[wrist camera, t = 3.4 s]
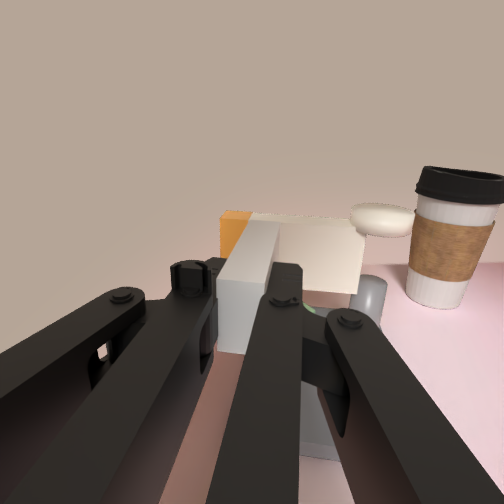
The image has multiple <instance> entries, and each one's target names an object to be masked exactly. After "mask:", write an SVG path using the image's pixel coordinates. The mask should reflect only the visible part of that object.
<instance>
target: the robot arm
mask: <svg viewBox="0 0 504 504" xmlns="http://www.w3.org/2000/svg"><path fill="white" fill-rule="evenodd" d="M280 223H281V222H276V221H262V220H250V221H249V222H248V224H247V226H246V228H245V229H244V231H243V233H242V235H241V236H240V238H239V240H238V242H237V243H236V245H235V247H234V249H233V250H232V252H231V254H230V256H229V257H228V258H217V257H212V258H210V259H208V260H207V261H205V262H204V261H199V260H186V261H180V262H177V263H175V264H173V265H172V266H170V271H171V286H172V290H171V292H170V293H169V294H168V295H167V297H166V298H165V299H160V300H146V301H145V294H144V292H143V291H142V290H140V289H138V288H133V287H120V288H117V289H113V290H110V291H108V292H106V293H104V294H102V295H101V296H99V297H97V298H95V299H94V300H92V301H90V302H89V303H87V304H85V305H83V306H82V307H80V308H78V309H76V310H75V311H73V312H71V313H70V314H68V315H66V316H64V317H63V318H61V319H59V320H58V321H56V322H54V323H52V324H51V325H49V326H47V327H46V328H44V329H42V330H40V331H39V332H37V333H35V334H33V335H32V336H30V337H28V338H27V339H25V340H23V341H21V342H20V343H18V344H16V345H14V346H13V347H11V348H9V349H8V350H6V351H4V352H2V353H1V354H0V504H158V503H159V501H160V498H161V495H162V493H163V490H164V488H165V485H166V482H167V480H168V477H169V475H170V472H171V469H172V467H173V464H174V462H175V459H176V456H177V454H178V451H179V449H180V446H181V443H182V441H183V438H184V436H185V433H186V430H187V428H188V425H189V423H190V420H191V417H192V415H193V412H194V410H195V407H196V404H197V402H198V399H199V397H200V394H201V391H202V389H203V386H204V384H205V381H206V378H207V376H208V373H209V371H210V368H211V365H212V363H213V357H214V354H213V347H214V345H215V342H216V340H217V351H220V352H228V353H236V354H244V355H245V357H244V361H243V365H242V369H241V372H240V376H239V380H238V384H237V387H236V391H235V395H234V399H233V402H232V406H231V410H230V414H229V417H228V421H227V425H226V429H225V432H224V436H223V440H222V443H221V447H220V451H219V455H218V458H217V462H216V466H215V470H214V473H213V477H212V481H211V485H210V488H209V492H208V496H207V500H206V503H205V504H298V490H299V450H300V411H301V381H303V382H306V383H308V384H311V385H313V386H316V387H317V395H318V398H319V401H320V403H321V406H322V409H323V412H324V415H325V418H326V421H327V424H328V427H329V430H330V432H331V435H332V438H333V441H334V444H335V447H336V450H337V453H338V456H339V459H340V461H341V464H342V467H343V470H344V473H345V476H346V479H347V482H348V485H349V488H350V490H351V493H352V496H353V499H354V502H355V504H504V495H503V493H502V492H501V491H500V489H499V488H498V487H497V485H496V484H495V483H494V481H493V480H492V479H491V477H490V476H489V475H488V473H487V472H486V471H485V469H484V468H483V467H482V465H481V464H480V463H479V461H478V460H477V459H476V457H475V456H474V455H473V453H472V452H471V451H470V449H469V448H468V447H467V445H466V444H465V443H464V441H463V440H462V439H461V437H460V436H459V435H458V433H457V432H456V431H455V429H454V428H453V426H452V425H451V424H450V422H449V421H448V420H447V418H446V417H445V416H444V414H443V413H442V412H441V410H440V409H439V408H438V406H437V405H436V404H435V402H434V401H433V400H432V398H431V397H430V396H429V394H428V393H427V392H426V390H425V389H424V388H423V386H422V385H421V384H420V382H419V381H418V380H417V378H416V377H415V376H414V374H413V373H412V372H411V370H410V369H409V368H408V366H407V365H406V364H405V362H404V361H403V359H402V358H401V357H400V355H399V354H398V353H397V351H396V350H395V349H394V347H393V346H392V345H391V343H390V342H389V341H388V339H387V338H386V337H385V335H384V334H383V333H382V331H381V330H380V329H379V327H378V326H377V325H376V323H375V322H374V321H373V320H372V319H371V318H370V317H369V316H368V315H366V314H364V313H362V312H360V311H358V310H354V309H350V308H348V309H347V308H340V309H334V310H332V311H330V312H329V313H328V314H327V316H326V317H323V316H319V315H317V314H314V313H312V312H310V311H309V310H308V309H306V308H305V306H304V305H303V301H302V287H303V269H302V268H301V267H300V266H299V264H295V263H284V262H278V254H279V239H280ZM105 343H106V348H107V355H106V356H105V357H103V358H101V359H99V357H98V351H97V349H98V348H99V347H101V346H102V345H103V344H105Z"/></svg>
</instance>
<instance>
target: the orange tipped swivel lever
mask: <svg viewBox="0 0 504 504" xmlns="http://www.w3.org/2000/svg"><path fill="white" fill-rule="evenodd" d="M414 218H415V213H414V212H413V211H411V210H409V209H406V208H403V207H399V206H395V205H389V204H378V203H363V204H357V205H354V206H353V207H352V211H351V218H350V219H345V218H328V217H312V216H295V215H279V214H261V213H253V212H243V211H226V212H225V213H224V214H223V215H222V216H221V218H220V255H221V258H228V257H229V256H230V254H231V252H232V250H233V249H234V247H235V245H236V243H237V242H238V240H239V238H240V236H241V235H242V233H243V231H244V229H245V228H246V226H247V224H248V222H249V221H250V220H262V221H276V222H281V223H280V239H279V254H278V262H284V263H295V264H299V266H300V267H301V268H302V269H303V287H302V289H303V290H314V291H325V292H336V293H347V294H351V297H350V304H349V308H350V309H354V310H358V311H360V312H362V313H364V314H366V315H368V316H369V317H370V318H371V319H372V320H373V321H374V322H375V323H376V325H377V326H378V327H379V326H380V321H381V316H382V310H383V305H384V300H385V295H386V290H387V282H386V281H385V280H383V279H382V278H379V277H377V276H373V275H360V272H361V266H362V259H363V252H364V247H365V240H366V234H368V235H374V236H380V237H404V236H407V235H409V234H411V232H412V227H413V222H414Z"/></svg>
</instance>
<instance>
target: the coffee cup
mask: <svg viewBox="0 0 504 504" xmlns="http://www.w3.org/2000/svg"><path fill="white" fill-rule="evenodd" d="M416 187H417V188H416V190H415V192H416V193H418V202H417V209H415V211H414V213H415V218H414V222H413V227H412V237H411V246H410V255H409V268H408V275H407V282H406V294H407V296H408V297H409V298H411V299H412V300H413V301H415V302H417V303H419V304H422V305H424V306H427V307H431V308H436V309H454V308H456V307H458V306H459V305H460V302H461V300H462V298H463V295H464V293H465V290H466V288H467V285H468V283H469V280H470V278H471V277H472V274H473V272H474V270H475V268H476V265H477V263H478V261H479V258H480V256H481V254H482V252H483V249H484V247H485V245H486V243H487V240H488V238H489V236H490V234H491V231H492V229H493V227H494V224H495V221H494V218H495V216H496V213H497V211H498V208H499V206H500V204H502V203H504V176H502V175H497V174H492V173H486V172H478V171H468V170H459V169H449V168H441V167H433V166H424V168H423V170H422V173H421V176H420V179H419V182H418V183H417V184H416Z"/></svg>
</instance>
